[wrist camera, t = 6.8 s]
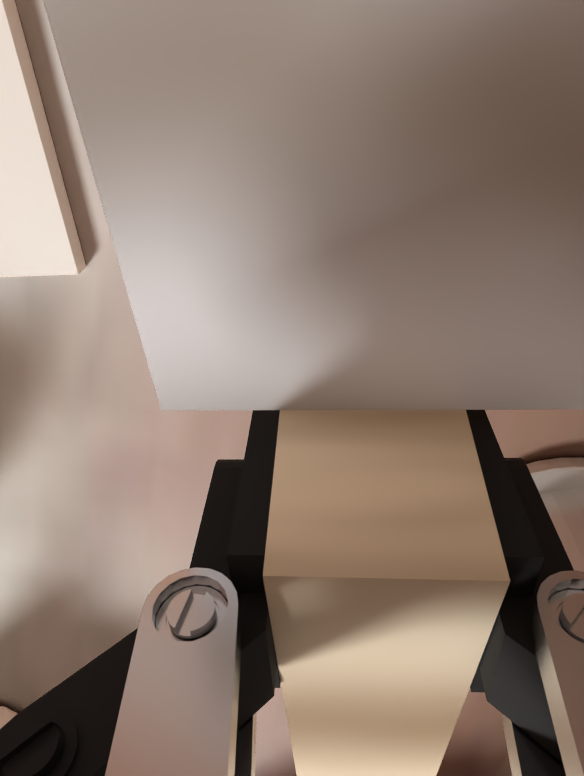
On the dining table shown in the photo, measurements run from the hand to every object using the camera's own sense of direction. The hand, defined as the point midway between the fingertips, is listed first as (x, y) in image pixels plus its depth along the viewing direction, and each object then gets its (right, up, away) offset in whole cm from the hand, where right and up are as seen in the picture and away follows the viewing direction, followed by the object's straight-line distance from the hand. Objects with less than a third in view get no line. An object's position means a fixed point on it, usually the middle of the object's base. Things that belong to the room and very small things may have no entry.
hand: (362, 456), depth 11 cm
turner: (0, +1, -1) cm, 1 cm away
